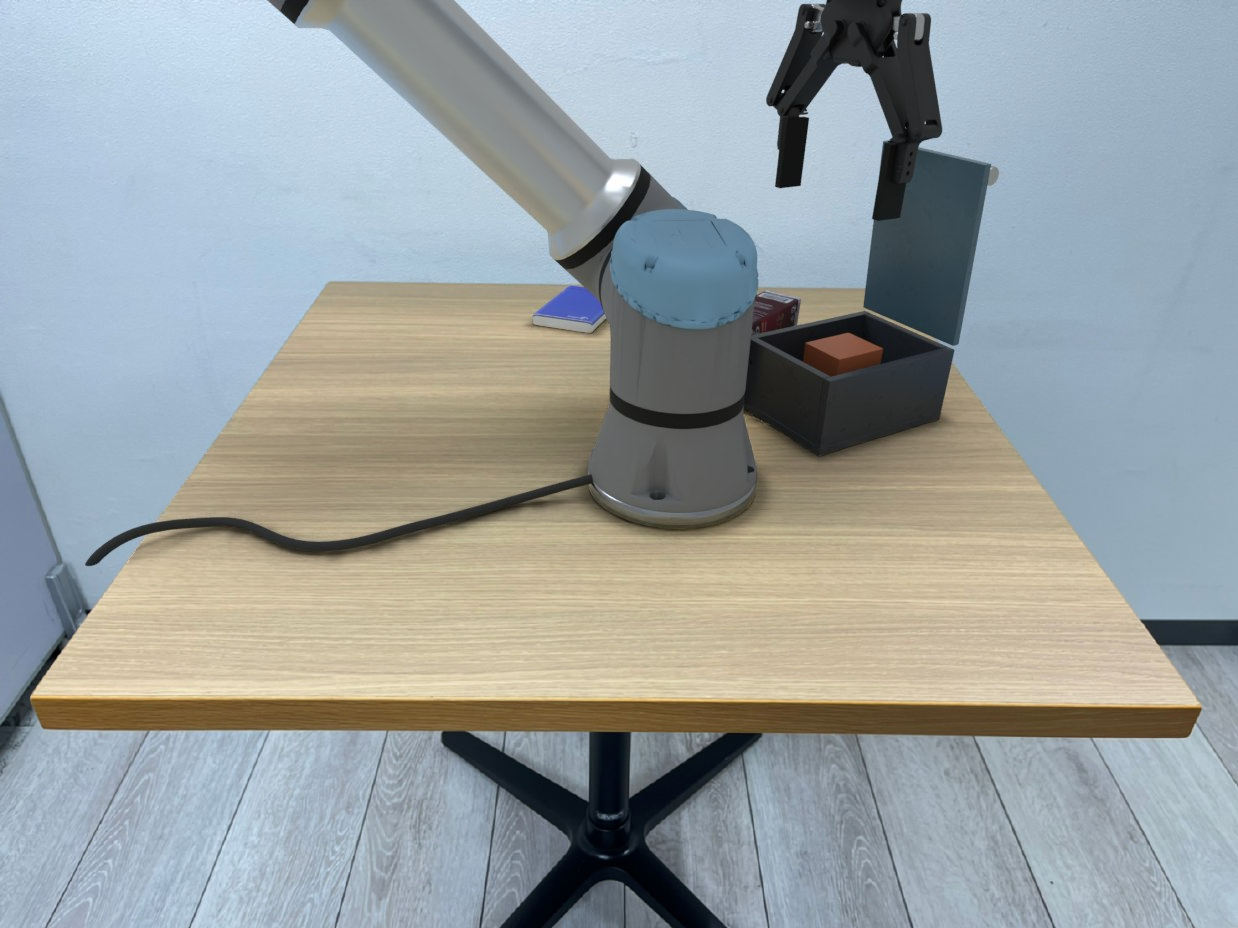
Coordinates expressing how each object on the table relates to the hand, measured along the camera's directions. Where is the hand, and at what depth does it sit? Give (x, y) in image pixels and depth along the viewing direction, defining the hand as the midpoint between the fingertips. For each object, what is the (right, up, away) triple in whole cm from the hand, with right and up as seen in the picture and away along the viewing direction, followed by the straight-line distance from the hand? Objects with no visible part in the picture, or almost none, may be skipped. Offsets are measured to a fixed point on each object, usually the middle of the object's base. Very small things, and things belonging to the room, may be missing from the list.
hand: (833, 202), depth 86 cm
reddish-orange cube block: (+2, -19, +9) cm, 21 cm away
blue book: (-26, -5, +35) cm, 44 cm away
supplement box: (-1, -9, +20) cm, 22 cm away
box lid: (+10, -3, +6) cm, 12 cm away
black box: (+3, -19, +11) cm, 22 cm away
